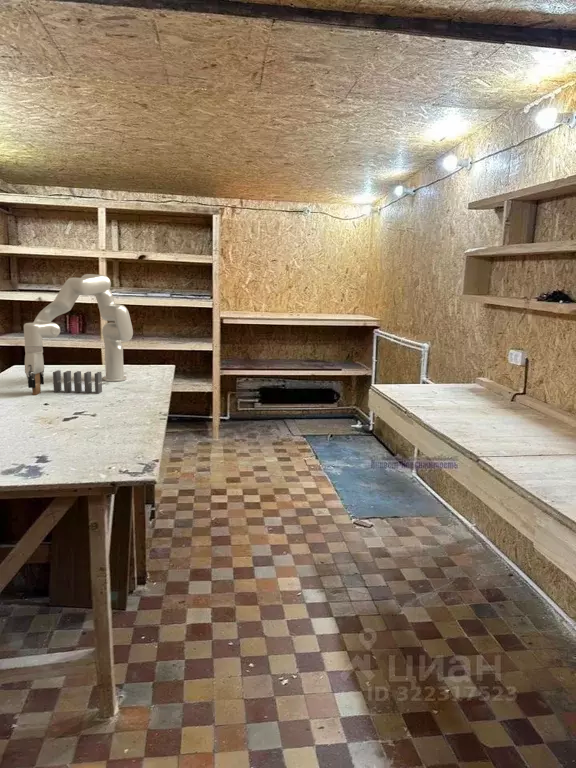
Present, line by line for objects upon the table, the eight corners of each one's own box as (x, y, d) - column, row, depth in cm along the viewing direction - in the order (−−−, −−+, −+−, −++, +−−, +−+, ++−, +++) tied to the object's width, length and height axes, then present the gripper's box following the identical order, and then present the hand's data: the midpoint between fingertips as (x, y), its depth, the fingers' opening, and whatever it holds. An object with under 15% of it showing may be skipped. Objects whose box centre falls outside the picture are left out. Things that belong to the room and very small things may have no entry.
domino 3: (64, 392, 249) (63, 372, 247) (68, 390, 254) (67, 370, 252) (67, 392, 249) (66, 372, 247) (71, 390, 254) (70, 370, 252)
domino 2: (53, 392, 249) (52, 372, 247) (58, 390, 254) (57, 370, 252) (57, 392, 249) (56, 372, 247) (61, 390, 254) (60, 370, 252)
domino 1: (32, 395, 242) (31, 374, 240) (37, 392, 247) (36, 372, 245) (36, 395, 242) (34, 374, 240) (40, 392, 247) (39, 372, 245)
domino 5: (84, 393, 249) (84, 373, 247) (88, 391, 254) (87, 371, 252) (88, 393, 249) (87, 373, 247) (92, 391, 254) (91, 371, 252)
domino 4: (74, 393, 249) (73, 372, 247) (78, 390, 254) (77, 371, 252) (77, 393, 249) (77, 373, 247) (81, 391, 254) (81, 371, 252)
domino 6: (95, 393, 249) (94, 373, 247) (98, 391, 254) (98, 371, 252) (98, 393, 249) (97, 373, 247) (102, 391, 254) (101, 372, 252)
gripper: (34, 346, 248) (36, 382, 252) (16, 351, 231) (19, 389, 235) (50, 347, 248) (52, 382, 252) (33, 352, 231) (35, 390, 235)
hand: (36, 385), depth 243 cm, fingers open, 7 cm apart
